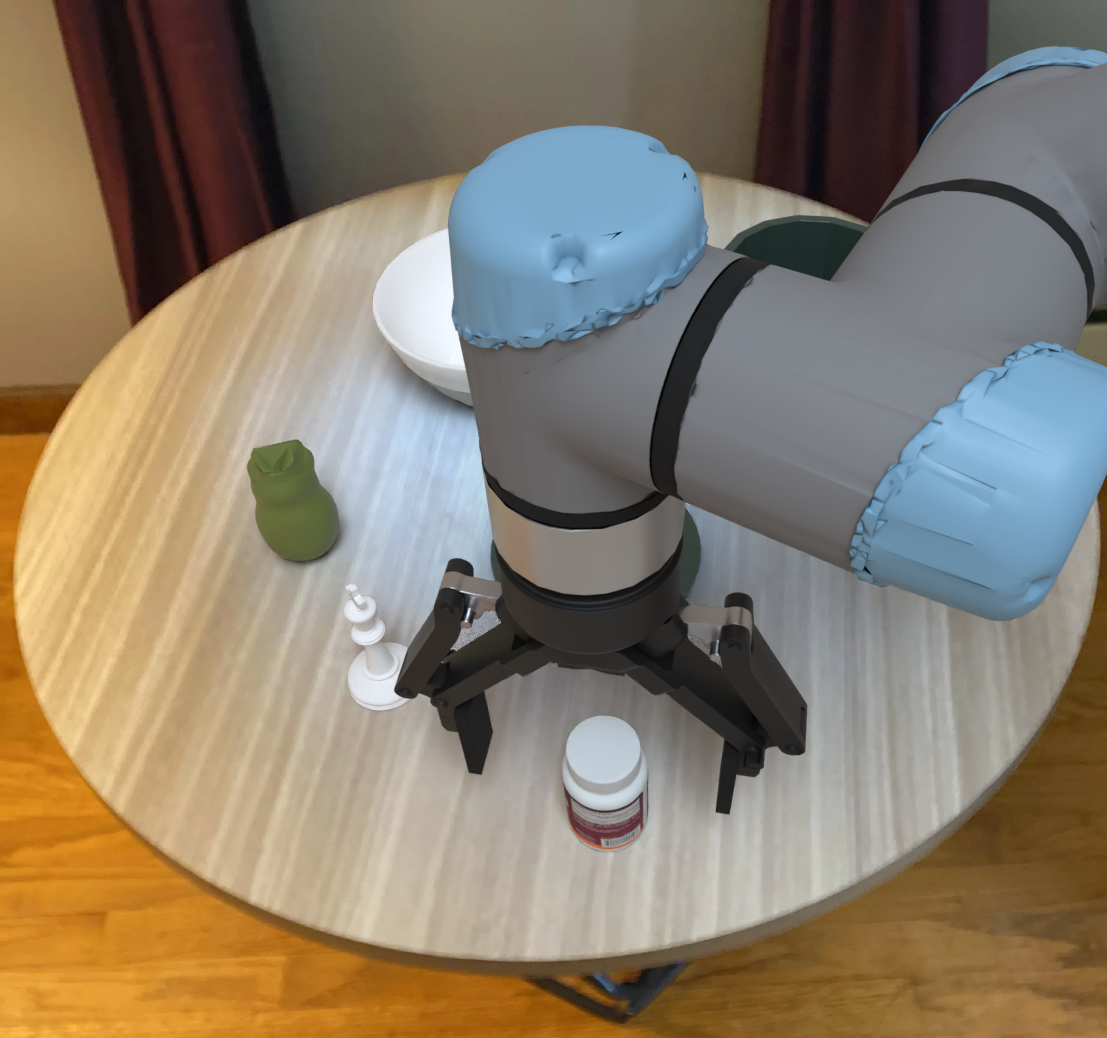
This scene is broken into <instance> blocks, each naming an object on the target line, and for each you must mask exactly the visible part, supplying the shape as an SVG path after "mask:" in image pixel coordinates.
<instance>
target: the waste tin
mask: <svg viewBox="0 0 1107 1038" xmlns="http://www.w3.org/2000/svg"><path fill="white" fill-rule="evenodd" d="M867 228H868V226H866V225H863V224H860V223H856V222H853V221H849V220H846V219H842V218H838V217H835V216H827V215H825V216H824V215H807V214H794V215H788V216H782V217H778V218H772V219H766V220H763V221H760V222H759V223H757V224H755V225H752V226H751V227H748V228H746V229H744V230H742V231H739V232H738V233H737V234H735V236H734V237H733V238H732V239H731V241H730V242H729V243H728V244H726V246H725V247H724V248H723V249H724V250H728V251H732V252H735V253H738V254H741V255H745V256H748V257H749V258H751V259H754V260H758V261H761V262H765V263H768V264H771V265H776V266H779V267H782V268H786V269H789V270H793V271H796V272H800V273H803V274H806V275H810V276H813V277H817V278H820V279H823V280H827V281H830V280H831V279H832V277H833V276H834V274H835V273H836V272H837V270H838V269H839V267H840V266H841V265H842V263H843V262H844V260H845V259H846V258H847V256H848V255H849V253H850V252H851V251H852V249H853V248H854V246H855V245H856V244H857V242H858V241H859V239H860V238H861V236H862V235H863V233H864V232H865V230H866V229H867Z"/></svg>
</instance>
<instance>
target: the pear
mask: <svg viewBox="0 0 1107 1038" xmlns="http://www.w3.org/2000/svg"><path fill="white" fill-rule="evenodd" d="M246 470H247V474H248V477H249V480H250V489H251V493H252V495H253V497H254V499H255V503H256V504H255V510H254V518H255V523H256V527H257V529H258V531H259V533H260V536H261V537H262V539H263V540H264V542H265V543H266V544H267V545H268V547H269V548H270V549H271V550H272V551H273V552H274V553H276V554H277V555H278V556H280V557H282V558H284V559H286V560H289V561H295V562H305V561H312V560H314V559H316V558H319V557H321V556H322V555H325V554H326V552H328V551H329V550H330V549H331V548H332V546H333V545H334V543H335V542H336V540H337V538H338V535H339V528H340V516H339V511H338V507H337V503H336V502H335V500H334V498H333V496H332V494H331V493H330V492H329V490H327V489H326V488H325V487H324V486H322V485H321V482H320V479H319V477H318V475H317V472H316V470H315V457H314V454H313V452H312V450H310V449H309V448H307V447H306V446H305V445H304V444H303V441H301V440H299V439H291V440H286V441H281V442H277V443H272V444H267V445H263V446H258V447H253V448H252V450H251V452H250V458H249V460H248V461H247V463H246Z"/></svg>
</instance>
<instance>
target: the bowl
mask: <svg viewBox="0 0 1107 1038" xmlns="http://www.w3.org/2000/svg"><path fill="white" fill-rule="evenodd" d="M453 299H454V295H453V283H452V270H451V258H450V246H449V234H448V227H446V228H444V229H441V230H437V231H436V232H432V233H431V234H429V235H427V236H425V237H423V238H421V239H420V240H417V241H415V242H414V243H413V244H411V245H410V246H408V247H407V248H406V249H404V250H403V251H402V252H400V253H399V254H398V255H397V256H396V257H394V259H393V260H391V262H390V263H389V264H388V265H387V266H386V267H385V269H384V270H383V272H382V274H381V275H380V277H379V279H378V280H377V282H376V285H375V288H374V292H373V295H372V315H373V318H374V321H375V324H376V326H377V330H379V332H380V334H381V335H382V336H383V337H384V339H385V340H386V341H387V343H388V344H389V345H390V347H391V348H392V349H393V351H394V352H395V353H396V354H397V356H398V357H399V358H400V359H401V360H402V362H403V363H404V364H405V366H406V367H408V369H410V370H411V371H412V372H413V373H414V374H416V375H417V376H418V377H420V378H421V379H423V380H424V381H425V382H427V383H428V384H429V385H430V386H432V387H434V388H435V389H436V390H438V391H439V392H441V393H442V394H443V395H446V396H447V397H449V398H450V399H453V400H455V401H458V402H460V403H461V404H464V405H466V406H469V407H472V408H473V403H472V397H471V392H470V388H469V383H468V378H467V374H466V369H465V364H464V359H463V355H462V350H461V345H460V341H459V336H458V331H456V330H455V327H454V323H453V320H452V305H453Z"/></svg>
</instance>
